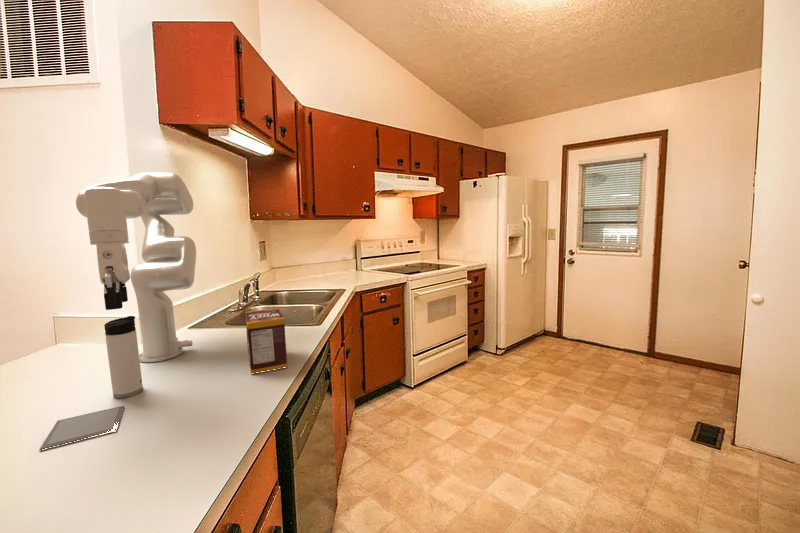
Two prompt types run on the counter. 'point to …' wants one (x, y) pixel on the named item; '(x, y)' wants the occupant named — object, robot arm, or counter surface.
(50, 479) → the counter surface
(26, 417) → the counter surface
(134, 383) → the travel mug
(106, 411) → the mat
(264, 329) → the supplement box
